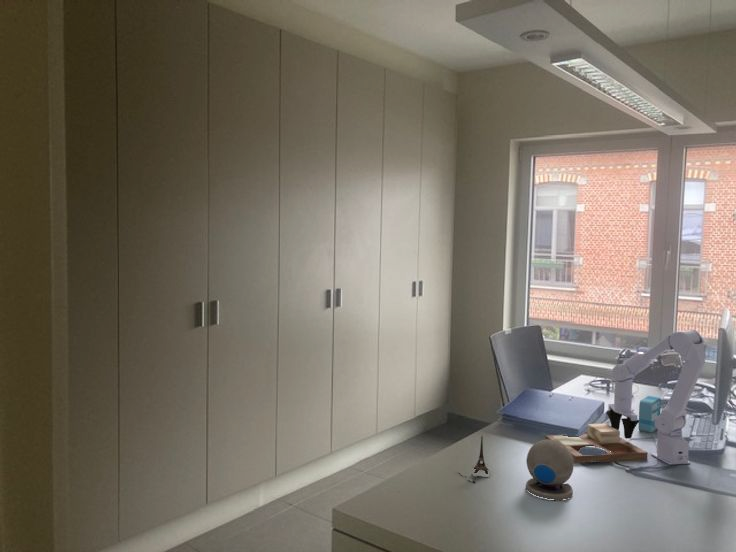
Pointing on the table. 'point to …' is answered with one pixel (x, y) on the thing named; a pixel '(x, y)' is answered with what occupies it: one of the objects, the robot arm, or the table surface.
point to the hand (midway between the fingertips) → (621, 434)
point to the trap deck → (618, 450)
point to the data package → (648, 413)
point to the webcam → (550, 470)
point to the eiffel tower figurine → (481, 465)
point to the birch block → (603, 433)
